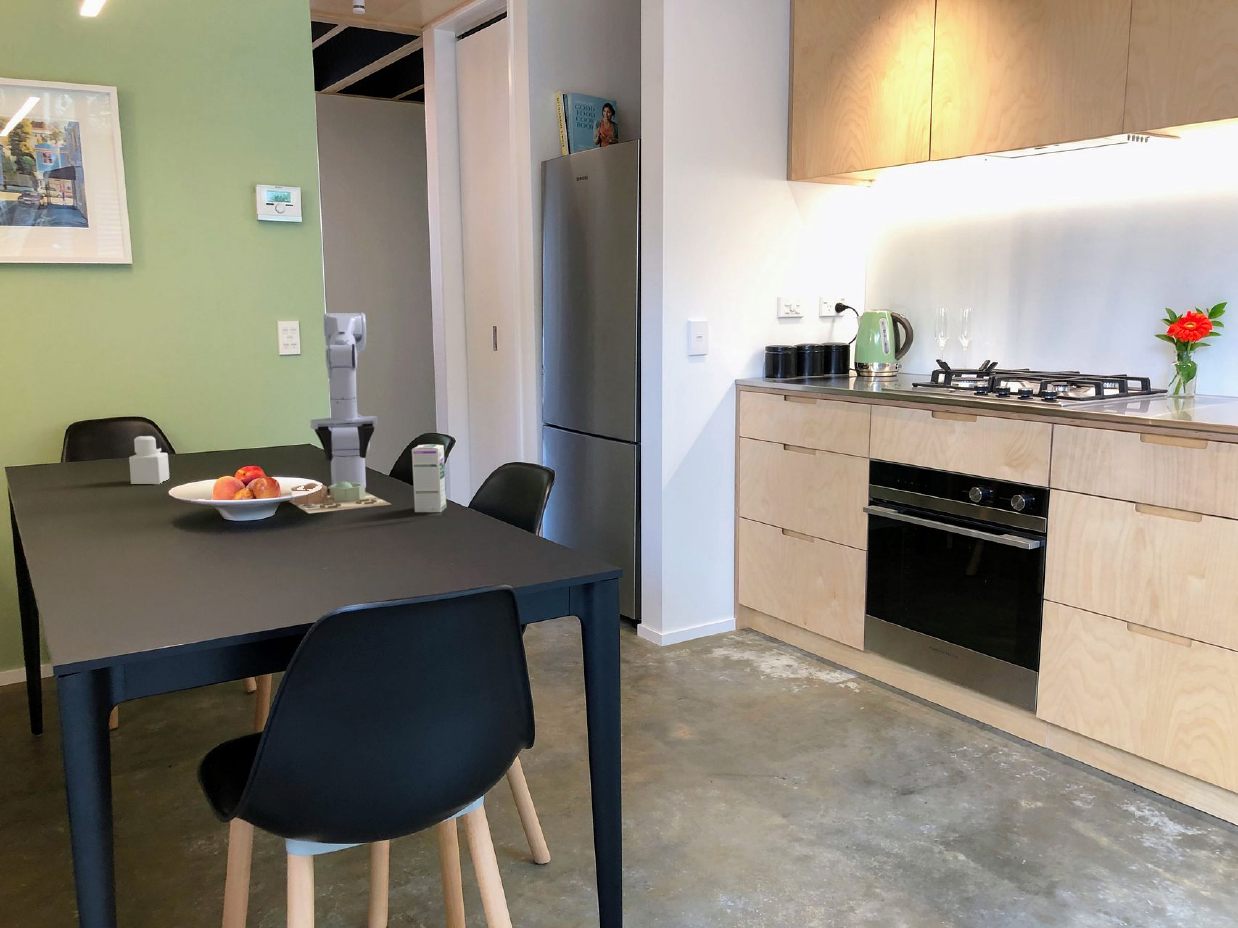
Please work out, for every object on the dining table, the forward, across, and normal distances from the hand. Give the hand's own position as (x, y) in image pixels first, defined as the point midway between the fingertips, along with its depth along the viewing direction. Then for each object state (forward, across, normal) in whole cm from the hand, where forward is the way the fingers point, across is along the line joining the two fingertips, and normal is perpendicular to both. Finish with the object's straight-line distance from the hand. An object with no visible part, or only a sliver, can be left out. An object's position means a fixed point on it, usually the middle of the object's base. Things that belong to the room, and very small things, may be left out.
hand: (346, 458), depth 218 cm
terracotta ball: (+9, -8, +2) cm, 12 cm away
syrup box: (+10, +11, -22) cm, 27 cm away
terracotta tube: (+10, -8, +2) cm, 13 cm away
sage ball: (+9, 0, 0) cm, 9 cm away
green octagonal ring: (+10, 0, 0) cm, 10 cm away
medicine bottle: (+10, -34, +54) cm, 65 cm away
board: (+10, -3, -3) cm, 11 cm away
